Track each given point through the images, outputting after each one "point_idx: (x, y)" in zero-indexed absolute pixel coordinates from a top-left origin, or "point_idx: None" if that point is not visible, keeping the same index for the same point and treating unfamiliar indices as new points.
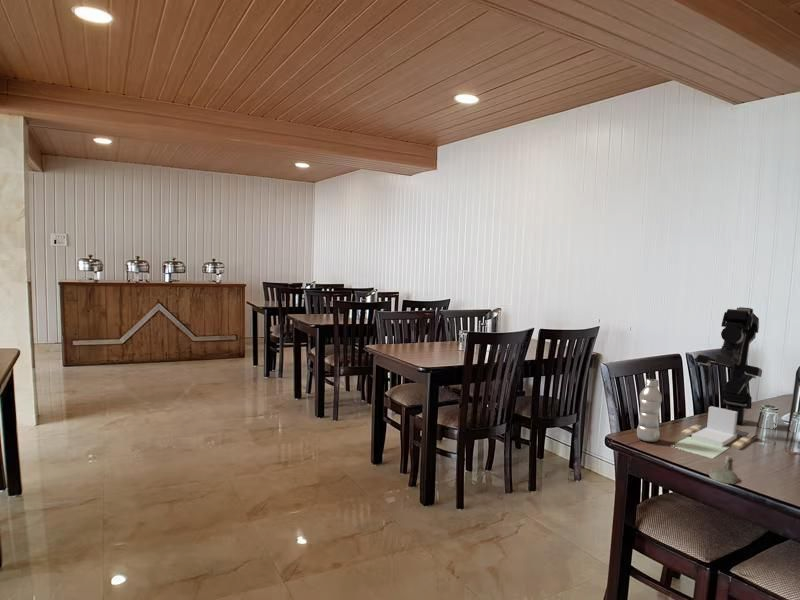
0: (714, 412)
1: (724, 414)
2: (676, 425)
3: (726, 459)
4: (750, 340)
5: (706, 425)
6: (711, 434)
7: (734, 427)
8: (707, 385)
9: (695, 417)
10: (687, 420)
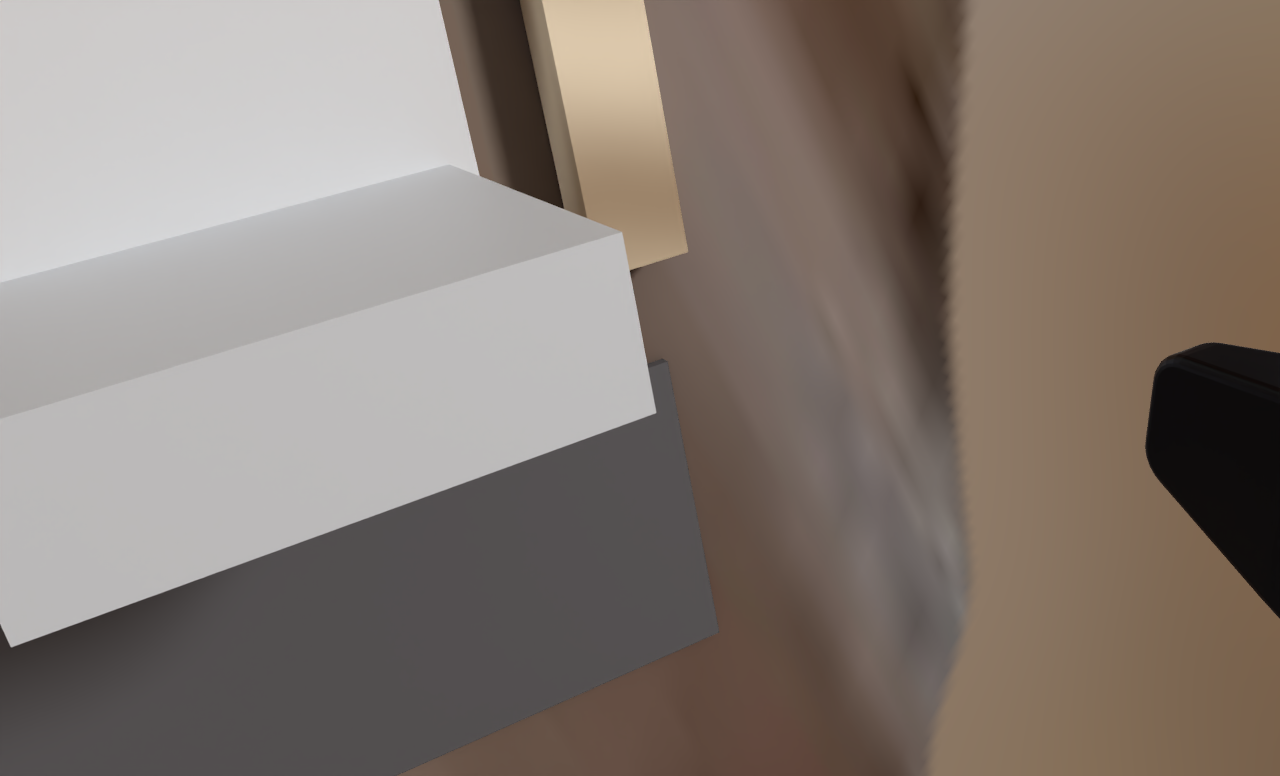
0: (451, 254)
1: (212, 319)
2: (841, 31)
3: None
4: None
5: (635, 508)
6: None
7: None
8: (1175, 361)
9: (908, 719)
10: (891, 473)
